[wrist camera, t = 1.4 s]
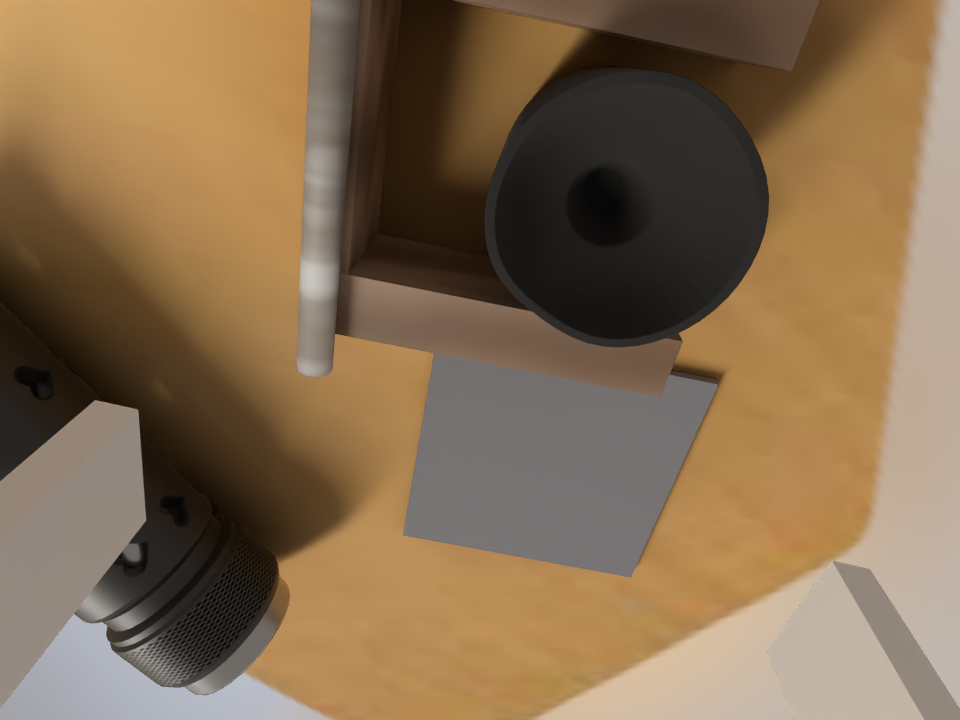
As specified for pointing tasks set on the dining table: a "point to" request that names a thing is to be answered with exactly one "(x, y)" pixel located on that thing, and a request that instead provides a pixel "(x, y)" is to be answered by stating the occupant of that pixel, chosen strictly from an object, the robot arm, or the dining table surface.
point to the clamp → (450, 272)
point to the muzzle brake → (151, 543)
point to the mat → (549, 463)
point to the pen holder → (625, 205)
